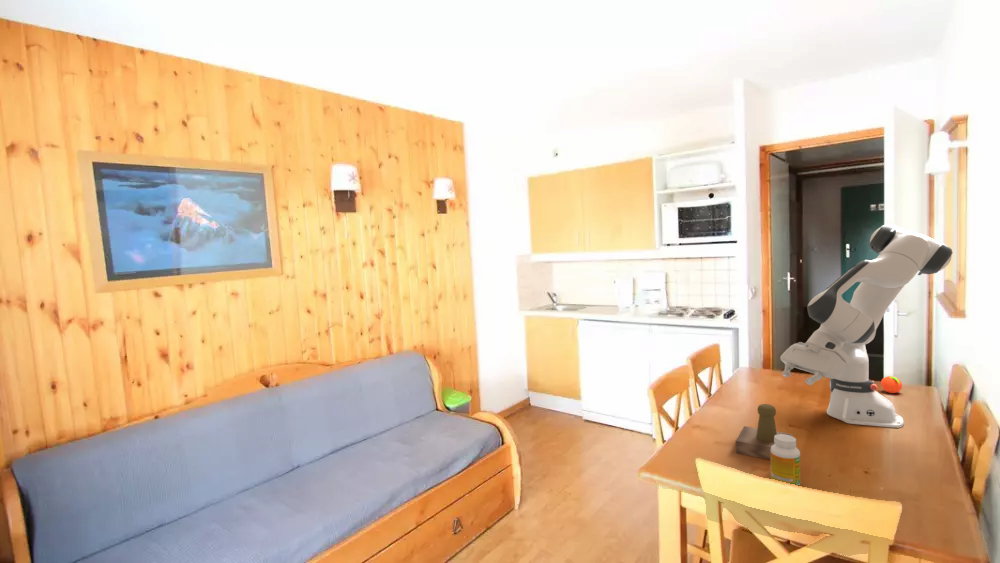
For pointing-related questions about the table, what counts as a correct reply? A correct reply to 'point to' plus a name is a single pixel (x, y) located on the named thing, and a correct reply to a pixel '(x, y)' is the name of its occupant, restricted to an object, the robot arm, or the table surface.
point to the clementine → (891, 384)
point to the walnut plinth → (753, 444)
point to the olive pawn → (766, 423)
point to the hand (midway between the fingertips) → (795, 379)
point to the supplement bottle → (785, 459)
